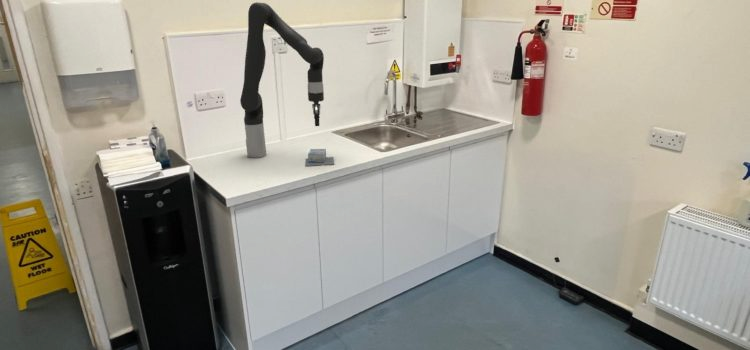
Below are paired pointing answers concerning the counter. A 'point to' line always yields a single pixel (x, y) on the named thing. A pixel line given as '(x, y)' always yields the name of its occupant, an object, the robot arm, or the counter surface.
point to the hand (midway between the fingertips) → (317, 125)
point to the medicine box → (317, 155)
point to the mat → (327, 162)
